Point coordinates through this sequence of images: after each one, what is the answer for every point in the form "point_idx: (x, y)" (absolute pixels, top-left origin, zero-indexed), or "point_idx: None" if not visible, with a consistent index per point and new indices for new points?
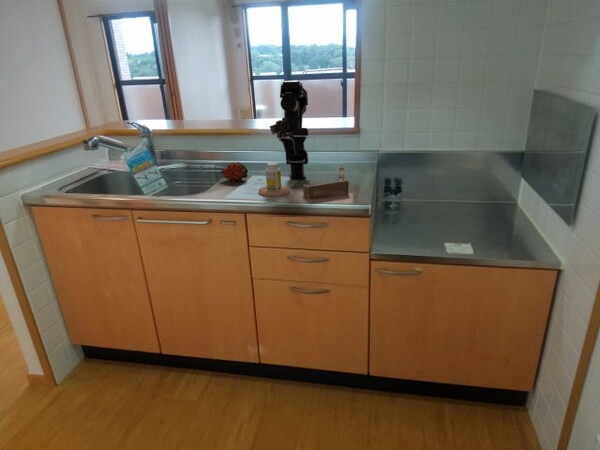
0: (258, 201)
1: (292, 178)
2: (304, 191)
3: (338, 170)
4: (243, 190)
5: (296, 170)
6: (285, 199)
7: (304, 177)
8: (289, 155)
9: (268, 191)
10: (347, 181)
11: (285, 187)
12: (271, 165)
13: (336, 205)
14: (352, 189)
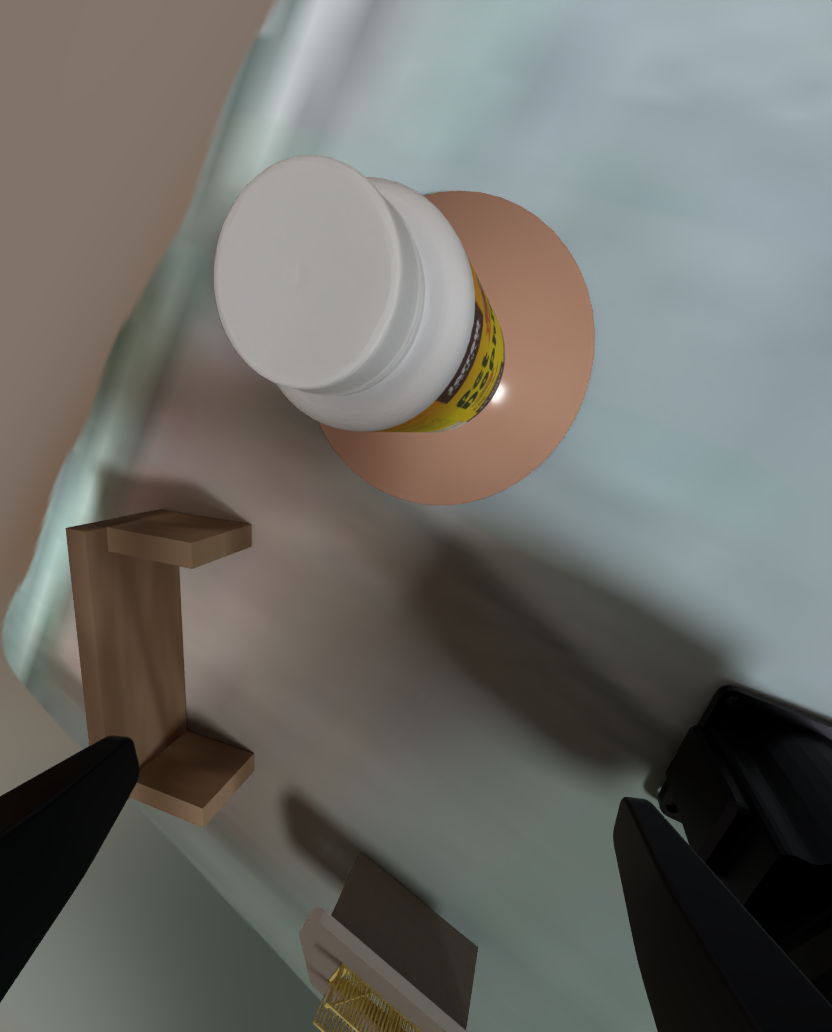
0: (268, 144)
1: (720, 700)
2: (212, 528)
3: (387, 993)
4: (696, 36)
5: (716, 798)
6: (226, 370)
7: (666, 799)
8: (618, 858)
9: None
10: None
11: (442, 481)
12: (228, 227)
13: (49, 574)
14: (229, 813)
